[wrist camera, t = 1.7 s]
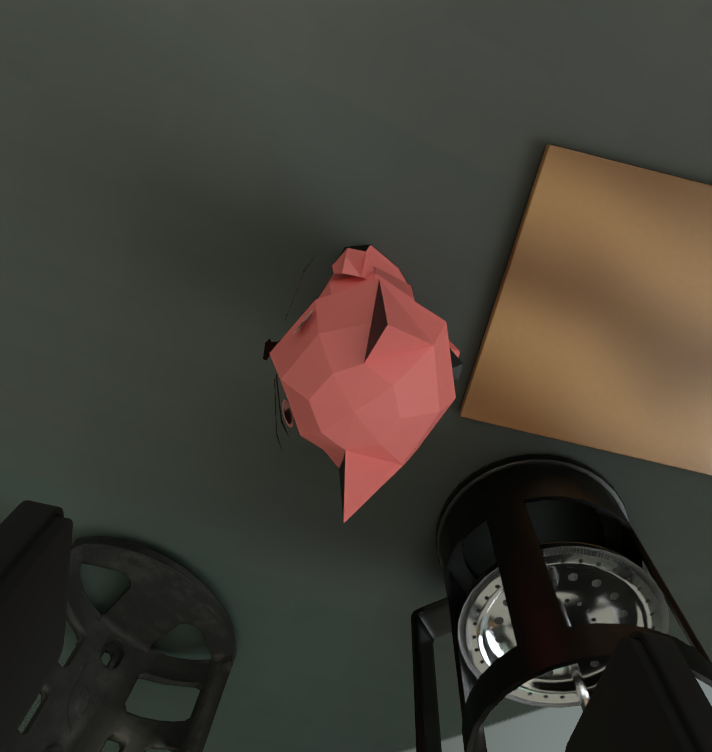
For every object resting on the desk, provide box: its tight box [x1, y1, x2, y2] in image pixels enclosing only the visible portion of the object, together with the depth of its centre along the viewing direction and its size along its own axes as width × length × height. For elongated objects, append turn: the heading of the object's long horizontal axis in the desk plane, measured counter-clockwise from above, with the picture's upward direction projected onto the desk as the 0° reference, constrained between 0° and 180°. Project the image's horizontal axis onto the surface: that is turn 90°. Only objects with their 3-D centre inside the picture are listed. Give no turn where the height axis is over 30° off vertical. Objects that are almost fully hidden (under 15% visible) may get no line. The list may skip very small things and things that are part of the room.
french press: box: [411, 455, 712, 752], centre depth 21 cm, size 12×9×23 cm
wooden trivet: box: [459, 144, 712, 475], centre depth 27 cm, size 12×14×1 cm
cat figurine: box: [263, 245, 463, 523], centre depth 22 cm, size 7×7×12 cm
